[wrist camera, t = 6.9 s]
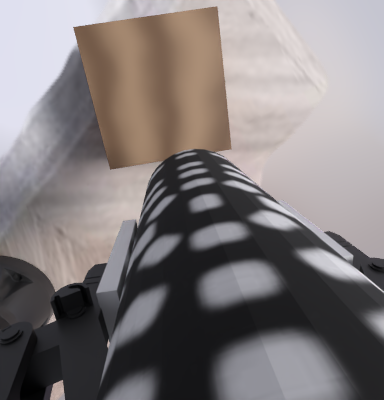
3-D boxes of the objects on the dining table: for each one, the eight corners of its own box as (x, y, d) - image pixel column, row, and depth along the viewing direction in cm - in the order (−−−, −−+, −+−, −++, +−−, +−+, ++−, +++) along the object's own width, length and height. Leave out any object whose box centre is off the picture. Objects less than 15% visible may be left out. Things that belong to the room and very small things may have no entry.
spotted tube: (132, 163, 21) (-158, 649, 2) (234, 137, 21) (811, 387, 2) (161, 252, 24) (144, 797, 5) (251, 229, 24) (567, 682, 5)
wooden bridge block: (121, 157, 38) (110, 169, 30) (94, 45, 33) (73, 27, 25) (218, 141, 38) (231, 149, 31) (205, 29, 33) (217, 6, 26)
